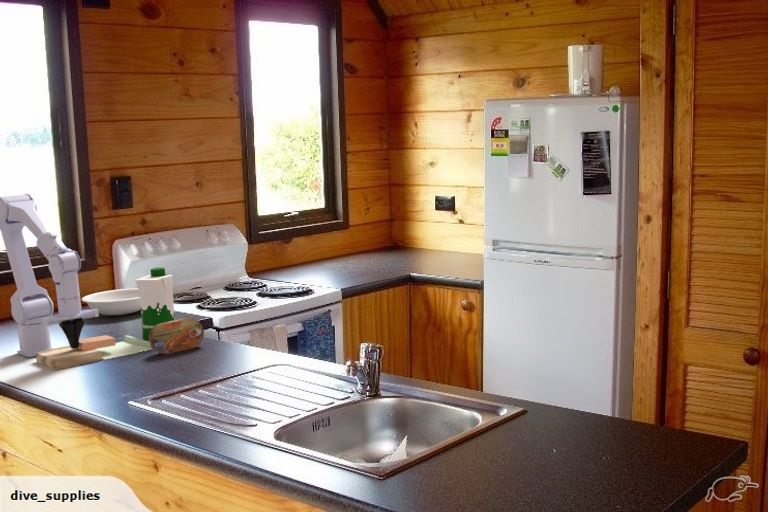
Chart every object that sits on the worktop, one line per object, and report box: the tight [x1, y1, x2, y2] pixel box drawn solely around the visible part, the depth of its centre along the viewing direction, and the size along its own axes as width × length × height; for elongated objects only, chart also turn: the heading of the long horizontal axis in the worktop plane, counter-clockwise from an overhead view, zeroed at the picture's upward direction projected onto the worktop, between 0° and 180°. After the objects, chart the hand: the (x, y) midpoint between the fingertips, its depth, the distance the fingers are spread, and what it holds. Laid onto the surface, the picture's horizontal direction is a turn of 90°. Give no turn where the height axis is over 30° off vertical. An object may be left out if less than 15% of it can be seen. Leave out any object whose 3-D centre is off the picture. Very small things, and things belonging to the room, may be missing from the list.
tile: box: [77, 334, 116, 351], centre depth 246 cm, size 6×9×2 cm, turn 129°
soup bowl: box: [81, 287, 141, 316], centre depth 303 cm, size 24×24×7 cm
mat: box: [97, 334, 154, 361], centre depth 250 cm, size 16×14×2 cm
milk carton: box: [134, 267, 176, 342], centre depth 260 cm, size 9×9×20 cm
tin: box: [148, 317, 205, 355], centre depth 245 cm, size 15×3×8 cm, turn 127°
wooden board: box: [35, 345, 103, 371], centre depth 241 cm, size 14×12×2 cm
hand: (74, 347), depth 242 cm, fingers closed
